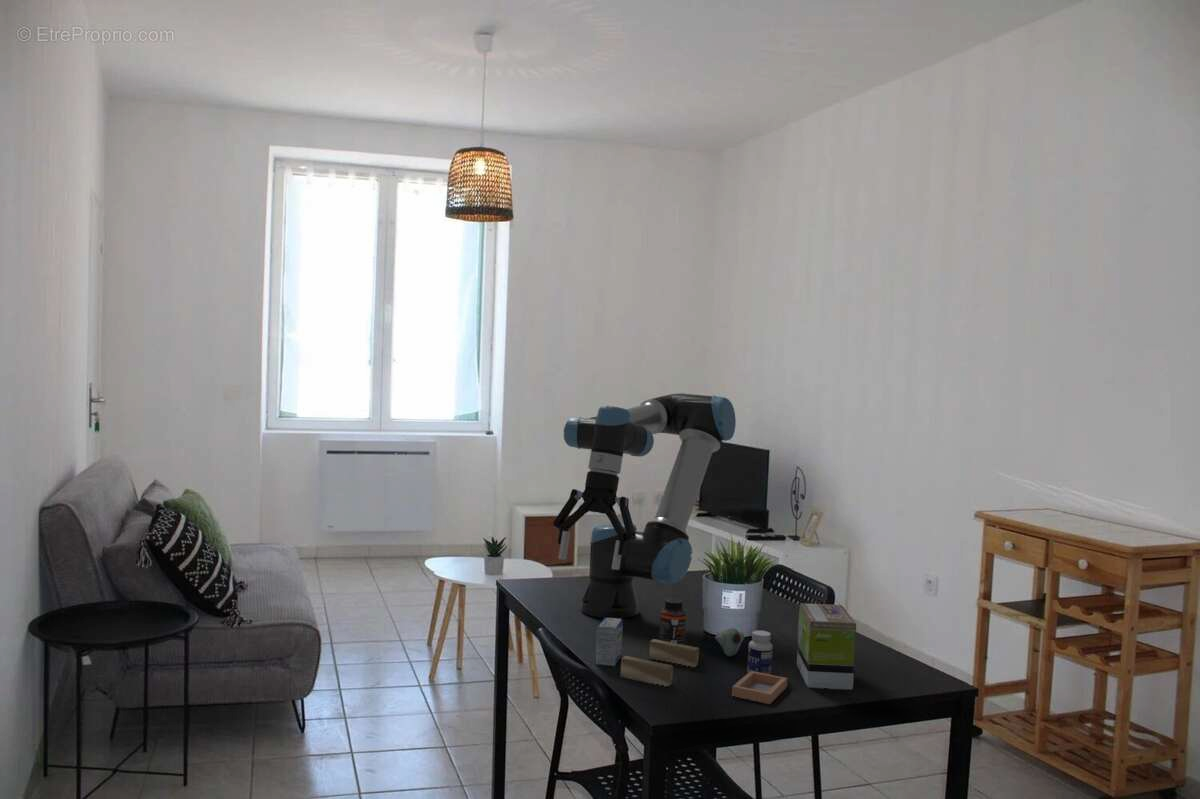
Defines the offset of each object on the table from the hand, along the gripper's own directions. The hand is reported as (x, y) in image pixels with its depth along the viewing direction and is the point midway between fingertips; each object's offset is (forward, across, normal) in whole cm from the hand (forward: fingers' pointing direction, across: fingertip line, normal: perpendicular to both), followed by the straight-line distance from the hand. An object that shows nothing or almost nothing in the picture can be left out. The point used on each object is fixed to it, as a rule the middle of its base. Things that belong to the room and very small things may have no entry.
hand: (588, 564), depth 230 cm
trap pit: (+19, +44, -1) cm, 48 cm away
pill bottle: (+17, +40, +11) cm, 45 cm away
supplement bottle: (+16, +17, +17) cm, 29 cm away
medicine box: (+20, +9, 0) cm, 22 cm away
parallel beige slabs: (+20, +21, 0) cm, 29 cm away
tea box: (+16, +53, +16) cm, 57 cm away
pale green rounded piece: (+16, +31, +18) cm, 39 cm away
